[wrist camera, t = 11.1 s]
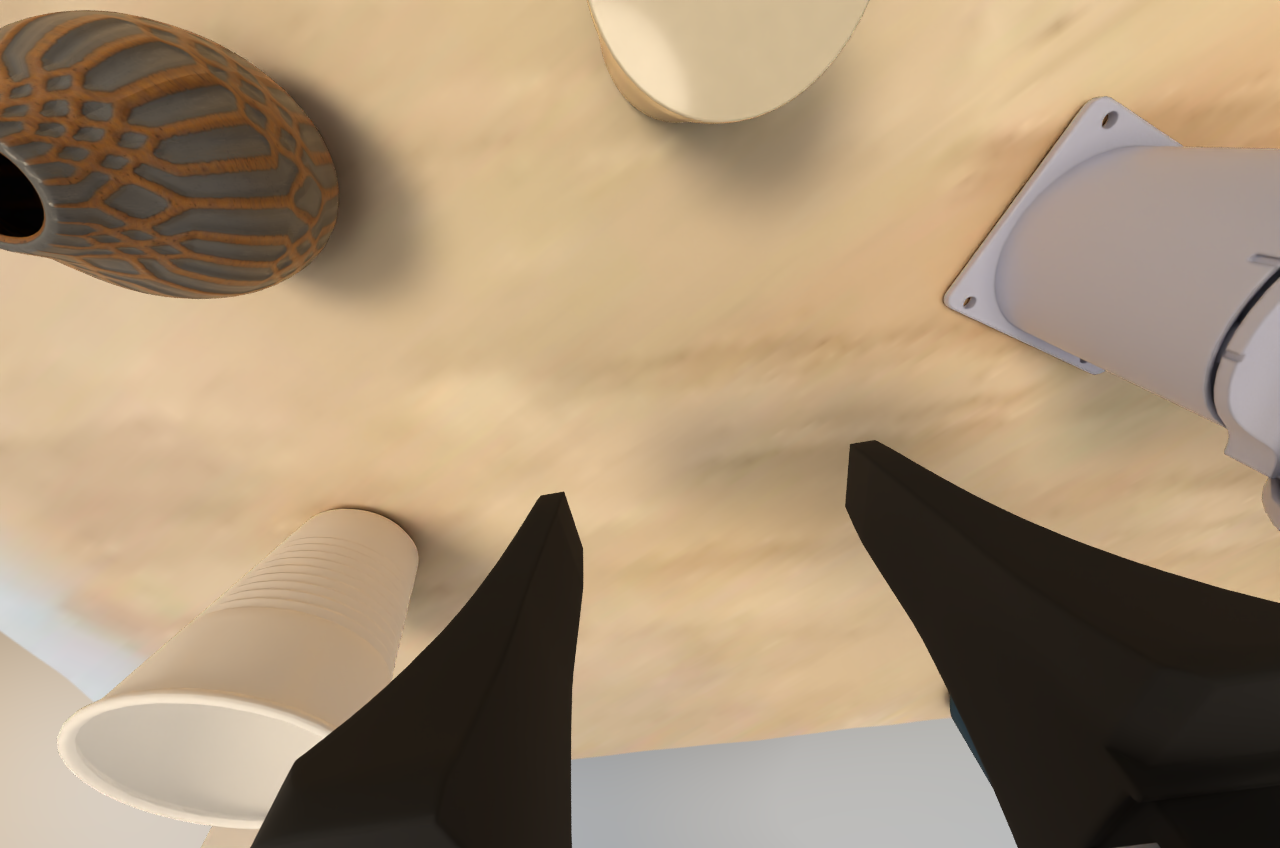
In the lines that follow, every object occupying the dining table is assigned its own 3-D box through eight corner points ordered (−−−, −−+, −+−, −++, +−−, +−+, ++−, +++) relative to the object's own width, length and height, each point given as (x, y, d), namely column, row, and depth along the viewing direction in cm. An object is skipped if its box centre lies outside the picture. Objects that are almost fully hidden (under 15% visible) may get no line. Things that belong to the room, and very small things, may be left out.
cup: (437, 618, 30) (356, 840, 20) (262, 582, 27) (78, 815, 18) (473, 506, 25) (390, 727, 16) (266, 450, 23) (23, 672, 13)
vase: (118, 161, 16) (-298, 184, 9) (201, -23, 14) (-267, -200, 7) (312, 301, 19) (120, 409, 12) (407, 167, 17) (244, 194, 9)
